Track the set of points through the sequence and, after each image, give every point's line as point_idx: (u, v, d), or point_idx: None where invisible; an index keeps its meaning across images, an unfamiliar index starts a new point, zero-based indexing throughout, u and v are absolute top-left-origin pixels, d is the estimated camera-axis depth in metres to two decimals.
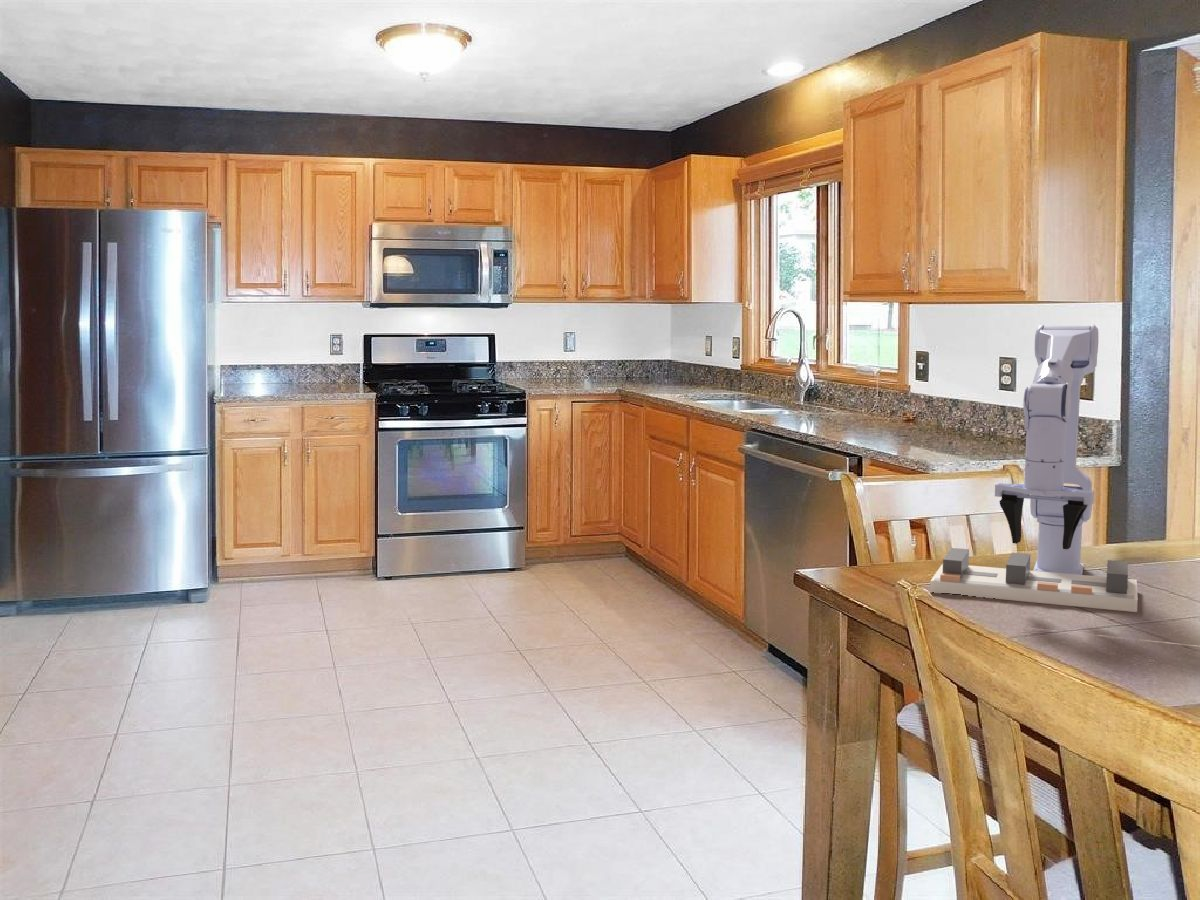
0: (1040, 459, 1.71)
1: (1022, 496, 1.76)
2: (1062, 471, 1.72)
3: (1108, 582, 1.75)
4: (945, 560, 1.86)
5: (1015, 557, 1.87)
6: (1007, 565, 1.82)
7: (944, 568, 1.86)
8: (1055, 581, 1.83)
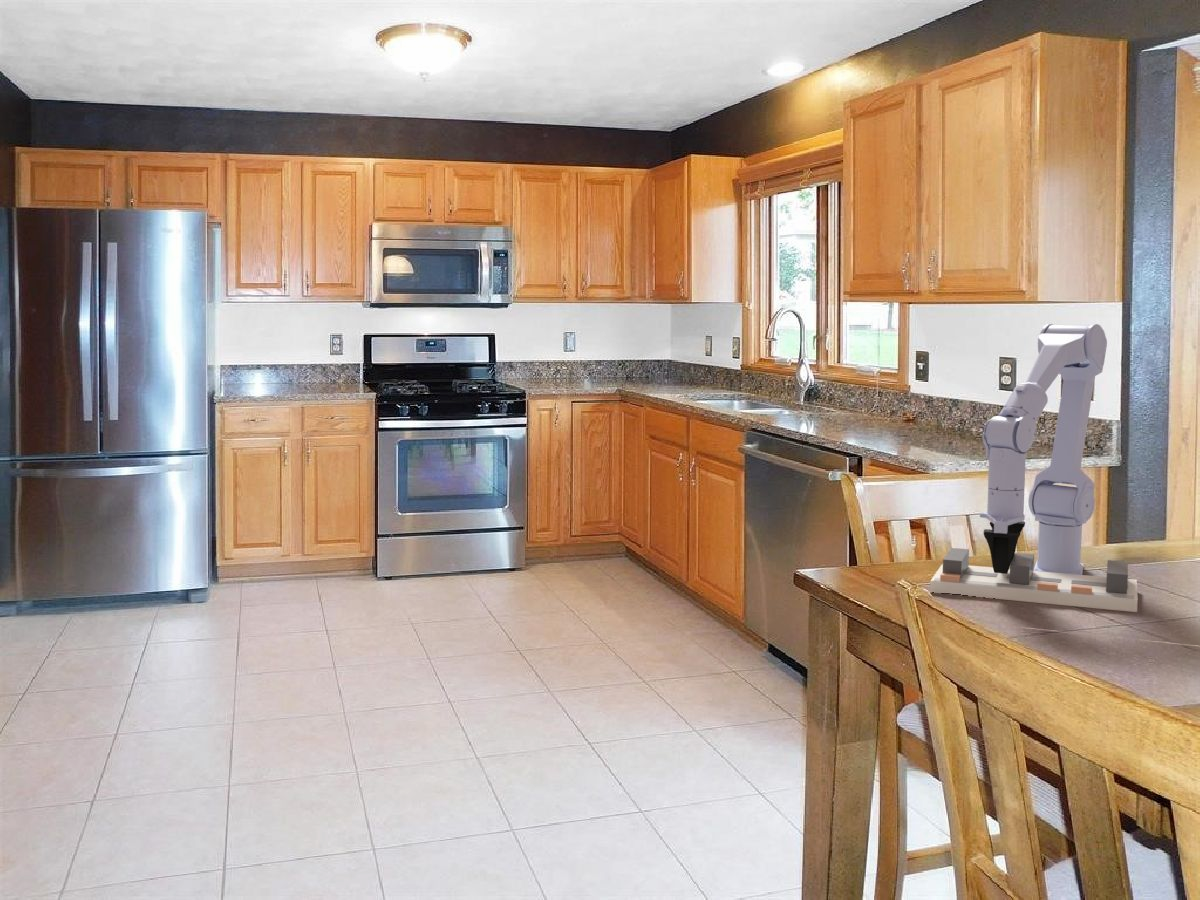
0: (995, 487, 1.83)
1: None
2: (1001, 499, 1.83)
3: (1108, 582, 1.75)
4: (945, 560, 1.86)
5: (1019, 557, 1.87)
6: (1011, 565, 1.81)
7: (944, 568, 1.86)
8: (1055, 581, 1.83)
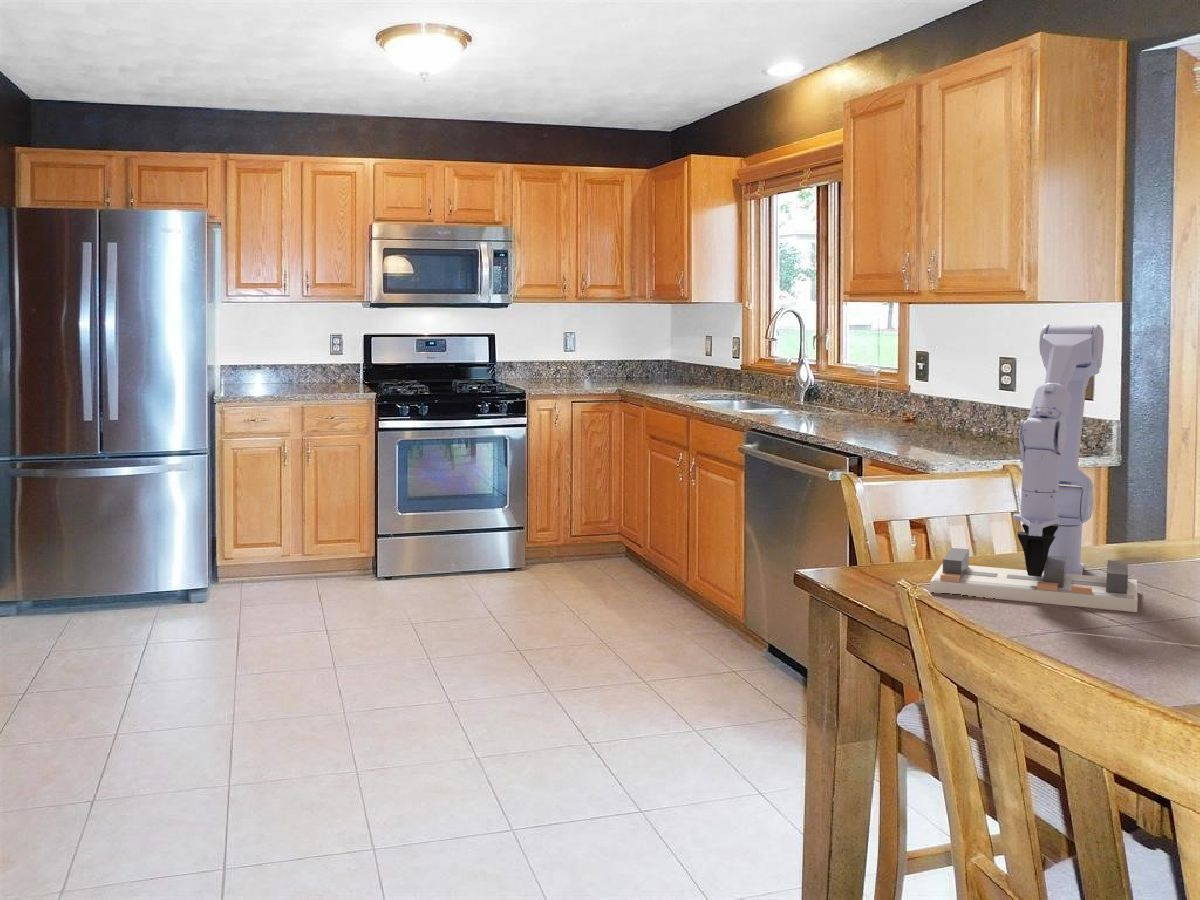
0: (1034, 489, 1.81)
1: None
2: (1036, 501, 1.81)
3: (1108, 582, 1.75)
4: (945, 560, 1.86)
5: (1052, 560, 1.84)
6: (1045, 568, 1.79)
7: (944, 568, 1.86)
8: None
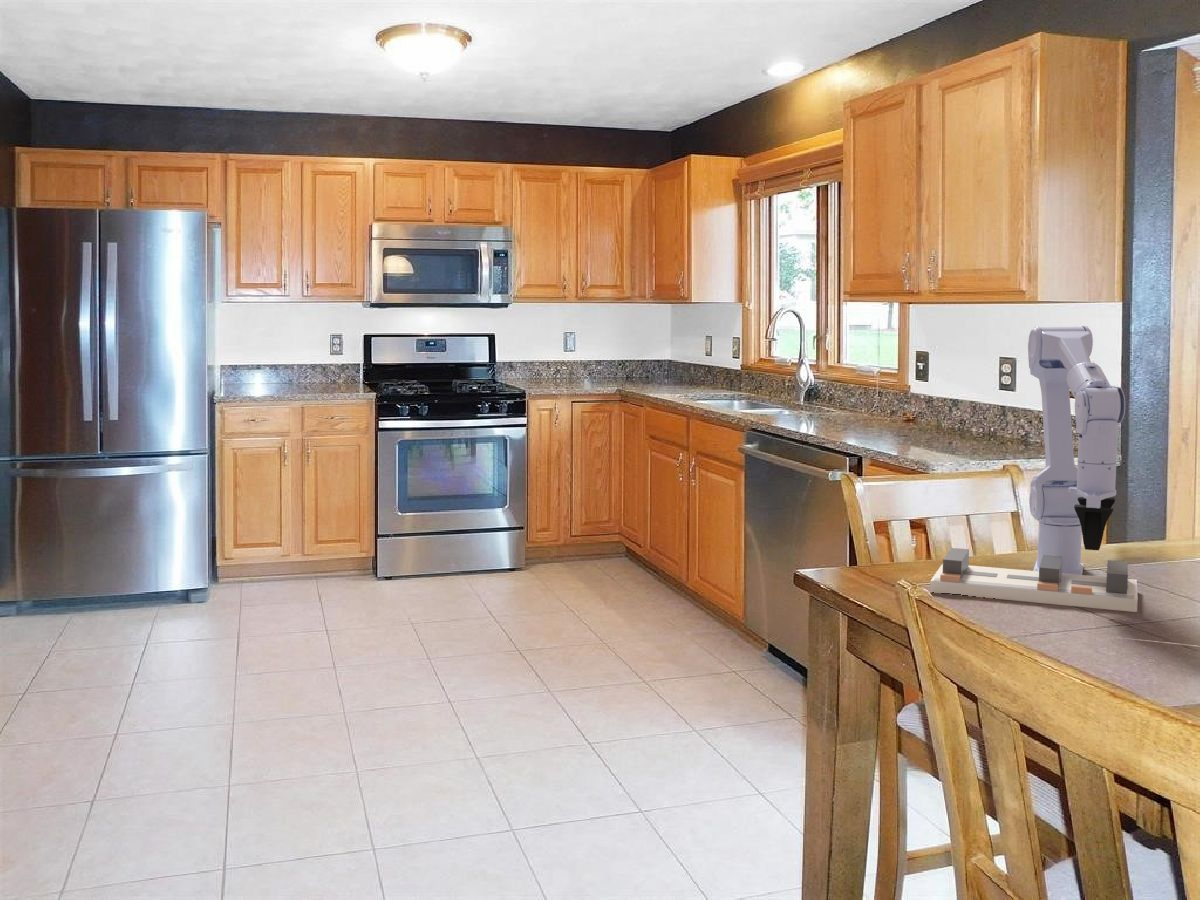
0: (1100, 461, 1.76)
1: None
2: (1093, 473, 1.76)
3: (1108, 582, 1.75)
4: (945, 560, 1.86)
5: (1047, 560, 1.85)
6: (1040, 568, 1.80)
7: (944, 568, 1.86)
8: None
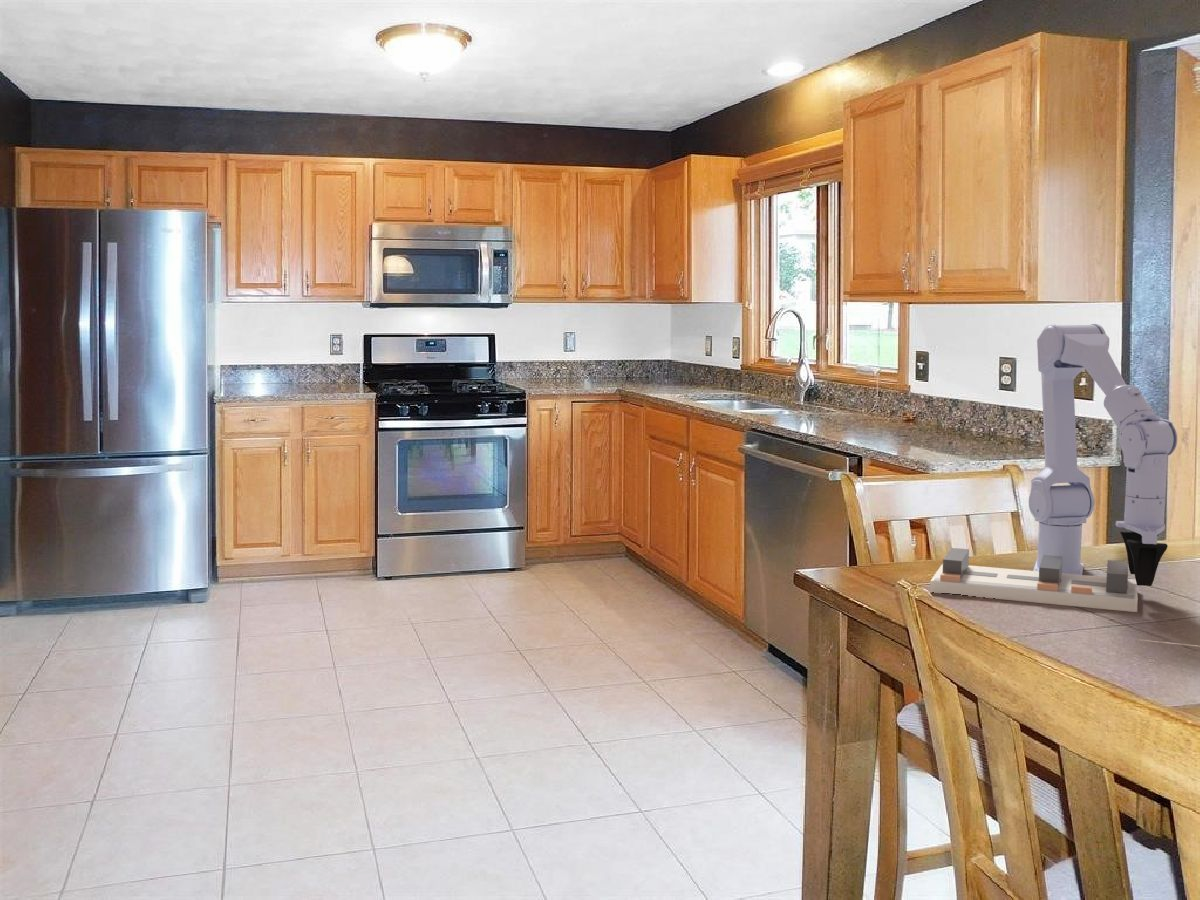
0: (1155, 496, 1.73)
1: None
2: (1144, 508, 1.74)
3: (1108, 582, 1.75)
4: (945, 560, 1.86)
5: (1047, 560, 1.85)
6: (1040, 568, 1.80)
7: (944, 568, 1.86)
8: None
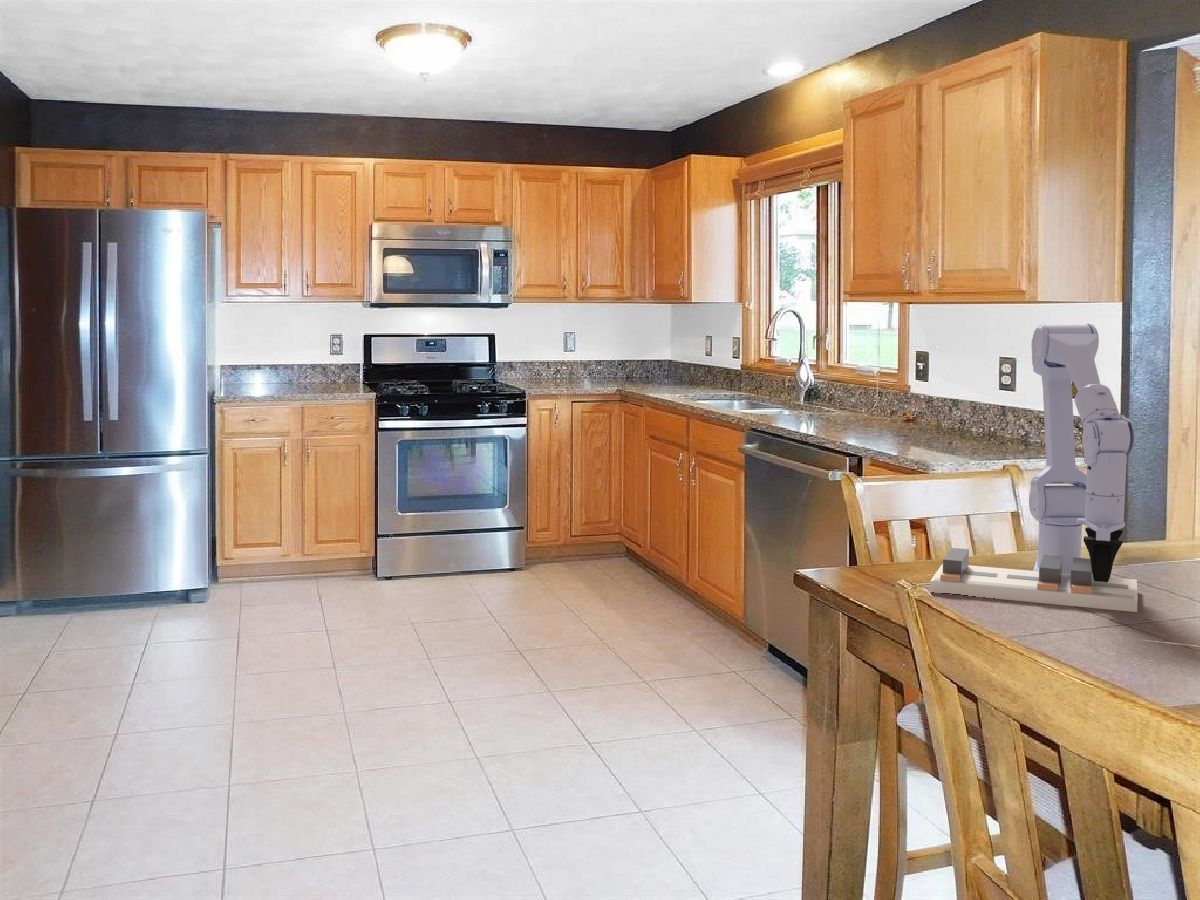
0: (1110, 493, 1.76)
1: None
2: (1102, 505, 1.77)
3: (1072, 579, 1.78)
4: (945, 560, 1.86)
5: (1047, 560, 1.85)
6: (1040, 568, 1.80)
7: (944, 568, 1.86)
8: None
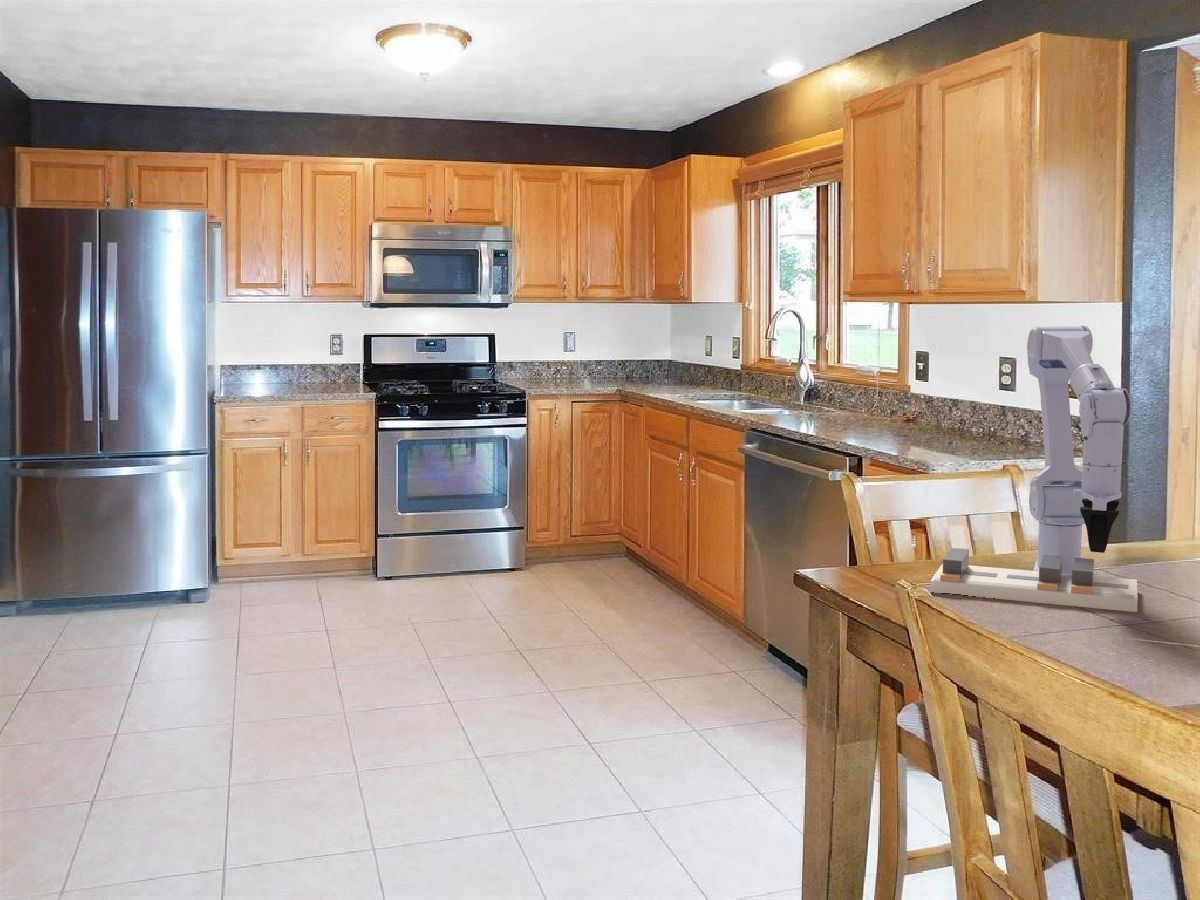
0: (1106, 464, 1.76)
1: None
2: (1098, 476, 1.76)
3: (1074, 579, 1.77)
4: (945, 560, 1.86)
5: (1047, 560, 1.85)
6: (1040, 568, 1.80)
7: (944, 568, 1.86)
8: None
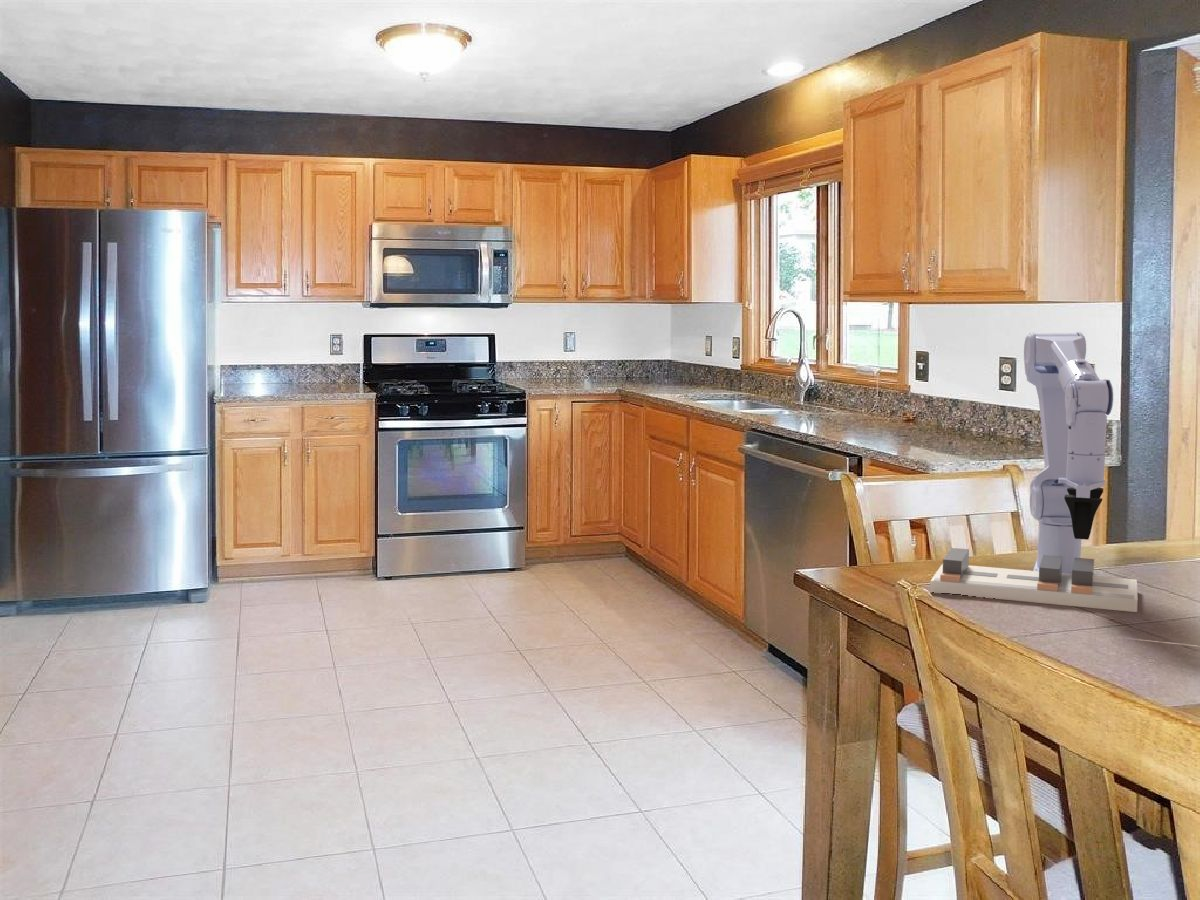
0: (1088, 452, 1.80)
1: None
2: (1082, 464, 1.80)
3: (1074, 579, 1.77)
4: (945, 560, 1.86)
5: (1047, 560, 1.85)
6: (1040, 568, 1.80)
7: (944, 568, 1.86)
8: None
